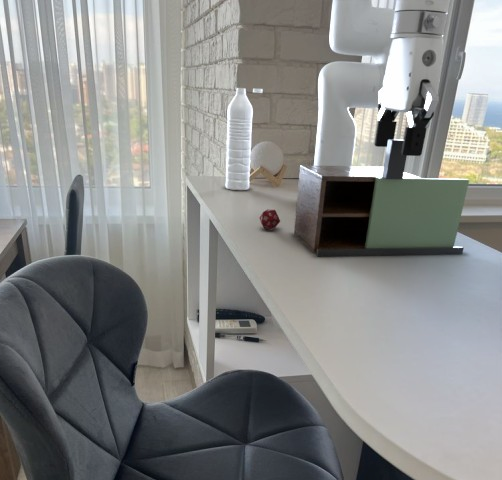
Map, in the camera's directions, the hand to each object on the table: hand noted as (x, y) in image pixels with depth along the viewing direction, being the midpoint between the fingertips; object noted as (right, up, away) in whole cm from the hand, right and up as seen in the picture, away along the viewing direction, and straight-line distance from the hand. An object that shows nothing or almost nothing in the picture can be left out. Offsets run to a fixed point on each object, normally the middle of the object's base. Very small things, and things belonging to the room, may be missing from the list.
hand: (396, 150), depth 82 cm
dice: (-20, -9, +19) cm, 29 cm away
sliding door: (+5, -15, +8) cm, 18 cm away
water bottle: (-26, +10, +57) cm, 64 cm away
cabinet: (0, -13, +13) cm, 18 cm away
